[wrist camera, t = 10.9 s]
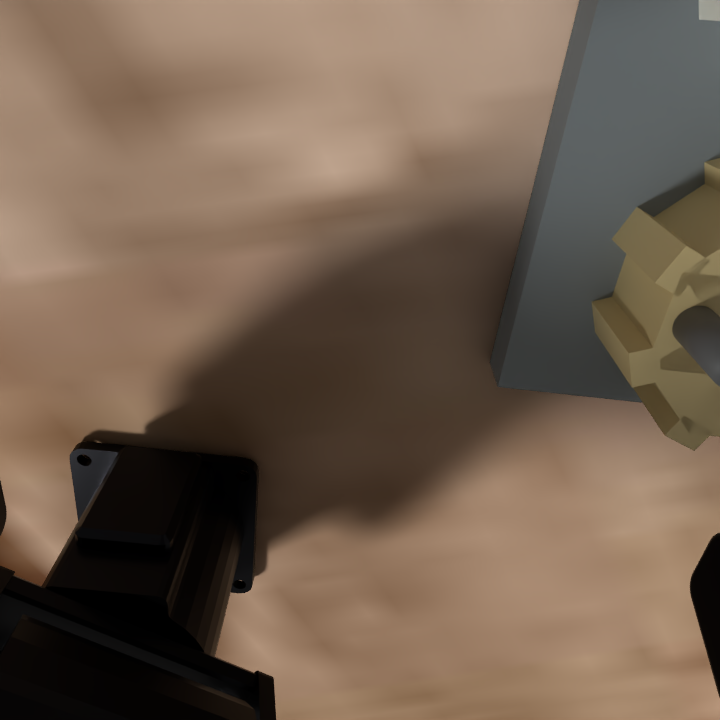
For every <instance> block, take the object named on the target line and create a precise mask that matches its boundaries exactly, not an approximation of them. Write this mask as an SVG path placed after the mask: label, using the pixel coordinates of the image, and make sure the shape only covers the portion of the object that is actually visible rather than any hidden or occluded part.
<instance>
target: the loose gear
mask: <svg viewBox="0 0 720 720" xmlns="http://www.w3.org/2000/svg"><path fill="white" fill-rule="evenodd" d="M699 20H712V21H720V0H699Z"/></svg>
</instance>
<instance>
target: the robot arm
mask: <svg viewBox="0 0 720 720" xmlns="http://www.w3.org/2000/svg"><path fill="white" fill-rule="evenodd" d="M82 454H84V455H87V456H89V457H90V458H91V459H88V458H85V457H84V456H83V455H82ZM70 465H71V472H72V479H73V486H74V493H75V500H76V508H77V515H78V523H77V525H76V526H75V528H74V530H73V532H72V533H71V535H70V537H69V539H68V541H67V542H66V544H65V546H64V548H63V549H62V551H61V553H60V555H59V556H58V558H57V560H56V562H55V564H54V565H53V567H52V569H51V571H50V572H49V574H48V576H47V578H46V579H45V581H44V583H43V585H42V586H39V585H37V584H34V583H32V582H29V581H27V580H25V579H22V578H20V577H17V576H15V575H14V573H15V571H12V570H10V569H7V568H5V567H2V566H0V720H276V710H275V693H274V679H273V677H272V676H269V675H267V674H264V673H262V672H260V671H256V672H255V673H253V672H251V671H248V670H246V669H244V668H241V667H239V666H236V665H234V664H231V663H229V662H226V661H224V660H221V659H219V658H216V657H215V654H216V650H217V646H218V642H219V638H220V634H221V630H222V625H223V621H224V617H225V613H226V609H227V605H228V600H229V596H230V592H232V593H245V592H248V591H249V590H251V588H252V584H253V580H254V565H255V543H256V521H257V500H258V478H259V469H258V465H257V464H256V463H255V462H254V461H253V460H251V459H248V458H243V457H233V456H223V455H213V454H203V453H194V452H184V451H174V450H164V449H154V448H144V447H134V446H125V445H115V444H105V443H95V442H81V443H79V444H77V445H76V447H75V448H74V450H73V451H72V453H71V454H70ZM242 470H243V471H247V472H248V473H249V474H241V473H240V472H239V471H242ZM5 522H6V505H5V500H4V496H3V491H2V486H1V481H0V536H1V533H2V531H3V529H4V525H5ZM239 580H242V581H239ZM690 593H691V598H692V602H693V605H694V609H695V612H696V616H697V619H698V623H699V626H700V630H701V634H702V637H703V641H704V644H705V648H706V651H707V655H708V658H709V662H710V665H711V669H712V673H713V676H714V680H715V683H716V687H717V690H718V694H719V697H720V533H717V534H716V535H714V536H713V537H712V538H711V540H710V542H709V544H708V545H707V547H706V549H705V551H704V553H703V555H702V557H701V559H700V561H699V562H698V564H697V566H696V568H695V570H694V572H693V574H692V577H691V581H690Z"/></svg>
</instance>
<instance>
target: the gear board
mask: <svg viewBox="0 0 720 720" xmlns="http://www.w3.org/2000/svg"><path fill="white" fill-rule="evenodd" d="M490 365H491V368H492V371H493V374H494V377H495V380H496V383H497V386H498V387H503V388H512V389H521V390H531V391H540V392H549V393H559V394H568V395H577V396H586V397H596V398H605V399H614V400H624V401H633V402H642V403H643V404H644V405H645V407H646V408H647V410H648V411H649V413H650V414H651V416H652V417H653V418H654V420H655V421H656V423H657V424H658V426H659V427H660V429H661V430H662V432H663V433H664V435H665V436H667V437H669V438H671V439H673V440H675V441H676V442H678V443H680V444H682V445H684V446H686V447H688V448H690V449H692V450H695V449H696V448H697V447H699V446H700V445H701V444H702V443H703V442H704V441H705V440H706V439H707V438H708V437H709V436H718V437H720V21H712V20H699V0H580V1H579V5H578V9H577V13H576V17H575V21H574V25H573V29H572V33H571V37H570V41H569V45H568V49H567V53H566V57H565V61H564V65H563V69H562V73H561V77H560V81H559V85H558V89H557V93H556V97H555V101H554V105H553V109H552V114H551V118H550V122H549V126H548V130H547V134H546V138H545V142H544V146H543V150H542V154H541V158H540V162H539V166H538V170H537V174H536V178H535V182H534V186H533V190H532V194H531V198H530V202H529V206H528V210H527V214H526V218H525V222H524V226H523V231H522V235H521V239H520V243H519V247H518V251H517V255H516V259H515V263H514V267H513V271H512V275H511V279H510V283H509V287H508V291H507V295H506V299H505V303H504V307H503V311H502V315H501V319H500V323H499V327H498V331H497V335H496V339H495V343H494V348H493V352H492V356H491V360H490Z"/></svg>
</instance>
